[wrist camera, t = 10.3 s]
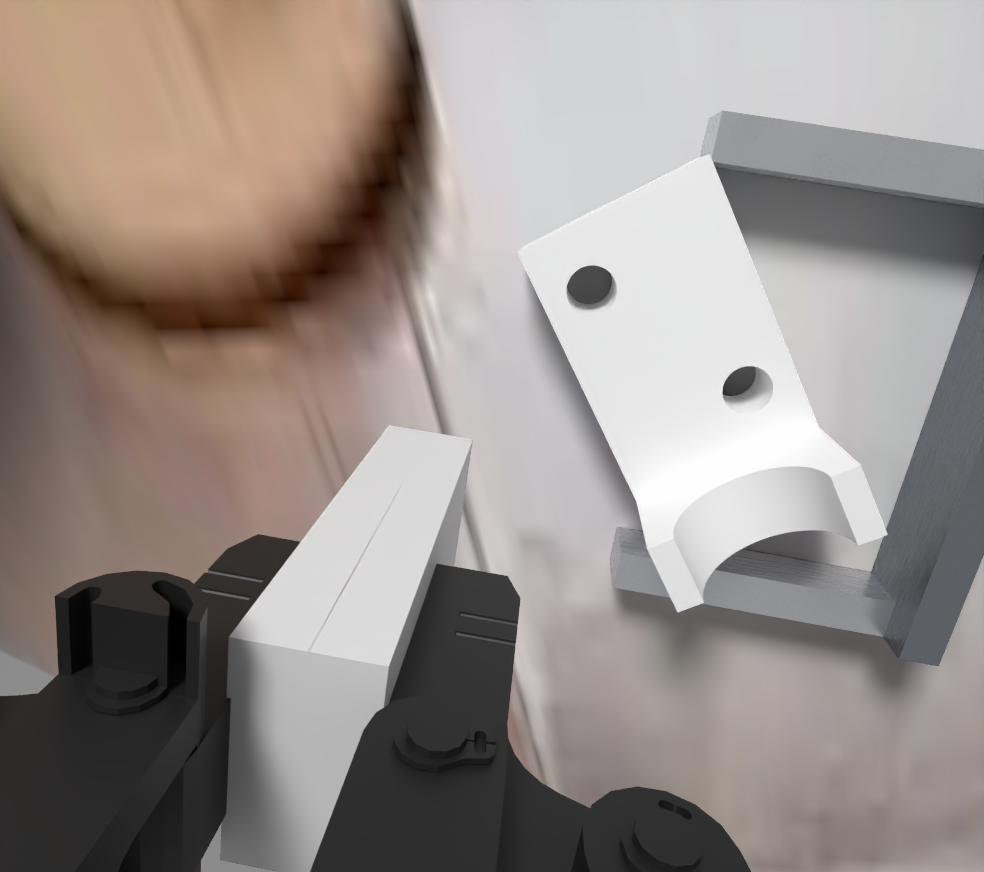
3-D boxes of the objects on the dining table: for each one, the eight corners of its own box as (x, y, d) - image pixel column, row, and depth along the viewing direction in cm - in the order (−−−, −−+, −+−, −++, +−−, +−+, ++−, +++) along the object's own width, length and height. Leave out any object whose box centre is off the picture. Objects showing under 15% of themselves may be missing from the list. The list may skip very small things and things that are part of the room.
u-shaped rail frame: (609, 559, 33) (615, 606, 29) (709, 118, 27) (731, 104, 23) (894, 610, 32) (938, 666, 28) (1058, 171, 26) (1141, 166, 22)
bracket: (813, 456, 31) (887, 534, 23) (653, 520, 32) (677, 612, 25) (692, 159, 28) (735, 145, 20) (523, 246, 29) (508, 261, 22)
